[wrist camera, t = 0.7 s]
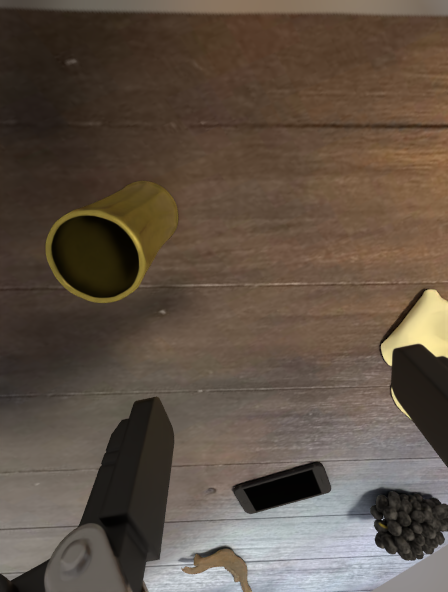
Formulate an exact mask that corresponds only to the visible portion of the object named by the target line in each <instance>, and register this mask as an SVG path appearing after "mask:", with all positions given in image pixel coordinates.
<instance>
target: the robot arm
mask: <svg viewBox="0 0 448 592" xmlns="http://www.w3.org/2000/svg"><path fill="white" fill-rule="evenodd" d="M391 385H392V389H393V392H394V395H395V397H396V399H397V401H398V402H399V403H400V405H401V406H402V407H403V409H404V410H405V411H406V413H407V414H408V415H409V417H410V418H411V419H412V421H413V422H414V423H415V425H416V426H417V427H418V429H419V430H420V431H421V433H422V434H423V435H424V437H425V438H426V439H427V441H428V442H429V443H430V445H431V446H432V447H433V449H434V450H435V451H436V453H437V454H438V455H439V457H440V458H441V459H442V461H443V462H444V463H445V465H446V466H447V467H448V358H447V357H444V356H440V357H436V356H435V355H434V354H432V353H431V352H430V351H429V350H428V349H427V348H426V347H425V346H423V345H422V344H413V345H409V346H404V347H399V348H395V349H394V350H393V352H392V376H391ZM173 449H174V432H173V428H172V425H171V423H170V421H169V418H168V416H167V414H166V412H165V409H164V407H163V405H162V403H161V401H160V399H159V398H158V397H153V398H148V399H143V400H138V401H135V403H134V404H133V407H132V411H131V414H130V417H129V419H124V420H122V421H121V422H120V423H119V425H118V426H117V428H116V429H115V430H114V432H113V433H112V434H111V437H110V440H109V443H108V446H107V449H106V453H105V454H104V457H103V460H102V463H101V464H102V466H101V467H100V468H99V471H98V474H97V477H96V480H95V483H94V485H93V488H92V491H91V494H90V497H89V499H88V502H87V505H86V508H85V511H84V514H83V516H82V519H81V522H80V524H79V526H78V528H76V529H74V530H73V531H72V532H70V533H69V534H68V535H67V536H66V537H65V538H64V539H63V540H62V541H61V542H60V544H59V545H58V546H57V548H56V549H55V551H54V552H53V554H52V556H51V558H50V559H49V560H47V561H45V562H44V563H42V564H40V565H38V566H37V567H35V568H33V569H31V570H29V571H27V572H26V573H24V574H22V575H20V576H18V577H17V578H15V579H13V580H11V581H9V580H8V579H7V578H6V577H4V576H3V575H1V574H0V592H148V589H147V587H146V585H145V582H144V581H143V577H144V571H145V565H146V562H147V561H153V560H159V559H160V552H161V544H162V536H163V528H164V520H165V512H166V504H167V496H168V488H169V481H170V473H171V465H172V457H173Z"/></svg>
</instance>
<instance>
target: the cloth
mask: <svg viewBox="0 0 448 592" xmlns="http://www.w3.org/2000/svg"><path fill="white" fill-rule="evenodd" d="M413 344H422V345H423V346H425V347H426V348H427V349H428V350H429V351H430V352H431V353H432V354H434V355H435V356H436V357H440V356H444V357H447V358H448V301H446V300H444V299H442V298H441V297H440V295H439V294H438V292H437V290H426V291H424V293H423V295H422V297H421V298H420V299H419V300H418V302H417V303H416V304H415V306H414V307H413V308H412V309H411V311H410V312H409V313H408V315H407V316H406V317H405V318H404V320H403V321H402V322H401V324H400V325H399V326H398V327H397V328H396V329H395V330H394V331H393V333H392V334H391V335H390V336H389V337H388V338H387V339H386V340H385V341H384V342H383V343H382V344H381V351H382V355H383V358H384V360H385V361H386V362H387V364H388V365H390V366H391V367H392V352H393V350H394V349H395V348H399V347H404V346H409V345H413ZM391 393H392V397H393V400H394V401H395V403H396V405H397V406H398V407H399V409H400V410H401V411H402V412H403V413H404V414H406V415H407V416H408V417H409V415H408V414H407V413H406V411H405V410H404V409H403V407H402V406H401V405H400V403H399V402H398V401H397V399H396V397H395V395H394V392H393V389H392V388H391ZM409 418H410V417H409ZM410 419H411V418H410ZM411 420H412V419H411Z"/></svg>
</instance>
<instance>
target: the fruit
mask: <svg viewBox="0 0 448 592" xmlns="http://www.w3.org/2000/svg"><path fill="white" fill-rule="evenodd" d="M370 513H371V514H372V515H373V517H374V518H375V519H377V520H375V522H374V527H375V529H376V530H377V531H378V533H377V534H376V537H375V543H376V545H377V546H378V547H380V548H383V549H384V548H385V549H386V551H387V552H388V553H389V554H395V553H396V552H398V554H399V555H400V556H401V558H402V559H404V560H408V561H409V560H411V561H412V560H415V559H416V558H417V559H423V556H424V554H423V551H424V552H425V553H426V554H432V553H433V552H434V548H437V547H438V544H439V545H441V544H443V543H444V540H445V538H444V536H443V534H442V533H441V532H440V531H442V532H444V531H448V505H446V504H441V502H440V501H439V500H438V499H436V498H434V497H433V498H430V499H423V498H422V497H421V496H420V495H419V494H416V493H415V494H413V495H406V494H401V495H399V494H398V493H396V492H394V491H391V492H389V493H388V498H387V497H386V496H385V495H378V496H377V498H376V505H372V507H371V508H370ZM383 515H384V518H385V519H383ZM381 519H383V520H381Z"/></svg>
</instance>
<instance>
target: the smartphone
mask: <svg viewBox="0 0 448 592" xmlns="http://www.w3.org/2000/svg"><path fill="white" fill-rule="evenodd" d="M330 491H331V485H330V482H329V480H328V477H327V474H326V472H325V469H324V467H323V465H322V464H321V463H314V464H310V465H307V466H303V467H300V468H296V469H293V470H290V471H286V472H283V473H279V474H276V475H272V476H269V477H265V478H262V479H258V480H255V481H252V482H248V483H245V484H241V485H238V486H236V487H235V488H234V494H235V496H236V498H237V499H238V501H239V502H240V504H241V506H242V507H243V509H244V511H245V512H247V513H249V514H253V513H257V512H261V511H264V510H268V509H271V508H275V507H279V506H282V505H286V504H290V503H293V502H297V501H301V500H304V499H308V498H311V497H315V496H319V495H322V494H326V493H328V492H330Z"/></svg>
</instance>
